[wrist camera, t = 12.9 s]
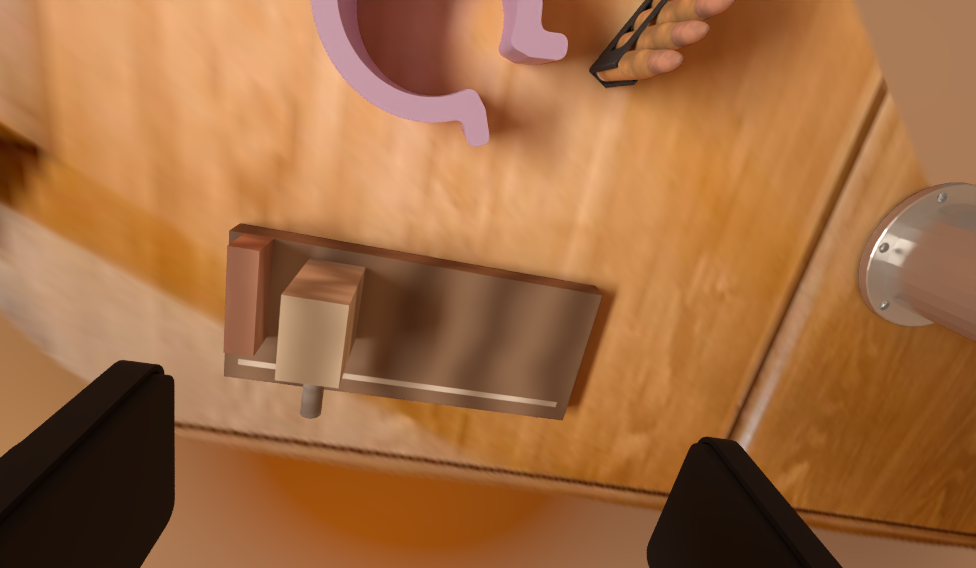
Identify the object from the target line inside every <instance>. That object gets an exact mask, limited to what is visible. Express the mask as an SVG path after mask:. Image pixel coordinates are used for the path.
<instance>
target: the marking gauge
mask: <svg viewBox="0 0 976 568" xmlns="http://www.w3.org/2000/svg"><path fill="white" fill-rule="evenodd" d="M364 274H365V267H360V266H354V265H348V264H343V263H337V262H331V261H325V260H319V259H313V258H309V260H308V261H307V262H306V264H305V265H304V266H303V267H302V269H301V270H300V271H299V273H298V274H297V275H296V276H295V278H294V279H293V280H292V282H291V283H290V284H289V286H288V287H287V288H286V289H285V291H284V292H283V293H282V295H281V305H280V318H279V331H278V344H277V357H276V370H275V380H277V381H285V382H293V383H300V384H303V392H302V402H301V411H300V414H301V415H302V416H303V417H305V418H309V419H312V418H316V417H318V416H319V415H320V414H321V408H322V399H323V391H324V387H331V388H338V389H339V386H340V383H341V380H342V377H343V374H344V371H345V368H346V365H347V362H348V359H349V357H350V354H351V351H352V348H353V345H354V342H355V339H356V333H357V325H358V318H359V311H360V303H361V296H362V289H363V282H364Z"/></svg>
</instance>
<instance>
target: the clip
mask: <svg viewBox="0 0 976 568" xmlns="http://www.w3.org/2000/svg"><path fill="white" fill-rule="evenodd" d="M310 1H311V7H312V12H313V17H314V21H315V25H316V28H317V31H318V34H319V37H320V39H321V42H322V44H323V46H324V48H325V50H326V52H327V54H328V56H329V58H330V60H331V61H332V63H333V64H334V66H335V67H336V69H337V70H338V72H339V73H340V74H341V76H342V77H343V78H344V79H345V80H346V81H347V83H348V84H349V85H350V86H351V87H352V88H353V89H354V90H355V91H356V92H358V93H359V94H360V95H361V96H362V97H363V98H365V99H366V100H367V101H369V102H370V103H372V104H373V105H375V106H377V107H378V108H380V109H382V110H384V111H386V112H388V113H390V114H393V115H395V116H398V117H401V118H404V119H408V120H413V121H419V122H431V123H432V122H447V121H453V120H457V121H460V122H461V126H462V131H463V133H464V135H465V137H466V140H467V142H468V143H469V144H470V145H471V146H474V147H478V146H483V145H485V144H486V143H487V142H488V140H489V129H488V123H487V116H486V110H485V107H484V105H483V103H482V101H481V99H480V97H479V95H478V94H477V92H476V91H474V90H472V89H462V90H459V91H457V92H454V93H450V94H446V95H437V96H430V95H422V94H417V93H414V92H411V91H408V90H406V89H404V88H402V87H400V86H398V85H397V84H395V83H394V82H392V81H391V80H390V79H388V78H387V77H386V76H385V75H384V74H383V73H382V72H381V71H380V70H379V69H378V67H377V66H376V65H375V64H374V62H373V61H372V59H371V58H370V56H369V54H368V52H367V50H366V48H365V46H364V44H363V41H362V38H361V35H360V31H359V26H358V20H357V0H310ZM502 4H503V14H504V21H503V31H502V37H501V41H500V44H499V53H500V54H501V55H502V56H503V57H505V58H507V59H508V60H510V61H512V62H514V63H522V64H531V65H539V64H544V63H548V62H552V61H556V60H560V59H562V58H563V57H564V56H565V55H566V53H567V48H568V40H567V38H566V36H565V35H563V34H561V33H554V32H548V31H546V30H545V29H544V28H543V27H542V24H541V17H542V6H543V0H502Z"/></svg>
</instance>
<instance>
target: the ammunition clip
mask: <svg viewBox="0 0 976 568" xmlns="http://www.w3.org/2000/svg"><path fill="white" fill-rule="evenodd" d="M735 1H736V0H645V1H644V2H643V3H642V5H641V6H640V7H639V8H638V10H637V11H636V12H635V13H634V14H633V16H632V17H631V18H630V19H629V21H628V22H627V23H626V24H625V26H624V27H623V28H622V29H621V30H620V32H619V33H618V34H617V35H616V37H615V38H614V39H613V40H612V42H611V43H610V44H609V45H608V47H607V48H606V49H605V50H604V51H603V53H602V54H601V55H600V56H599V58H598V59H597V60H596V61H595V63H594V64H593V65H592V66H591V68H590V70H589V72H590V73H591V74H592V75H593V76H594V77H595V78H596V79H597V80H598V81H599V82H600V83H602V84H603V85H604V86H605V87H606V88H608V87H616V86H626V85H634V84H635V83H636V82H637V81H638V80H639V79H648V78H651V77H653V76H655V75H659V74H663V73H668V72H671V71H673V70H675V69H676V68H678V67H679V66H680V65H681V64H682V63H683V61H684V57H683V55H682V54H681V53H679V52H677V51H675V50H677V49H678V48H682V47H684V46H687V45H691V44H694V43H696V42H698V41H699V40H701V39H702V38H704V37H705V36H706V35H707V34H708V33H709V31H710V26H709V25H708V24H707V23H705V22H703V20H706V19H708V18H710V17H713V16H716V15H718V14H720V13H722V12H724V11H725V10H727V9H728V8H729V7H731V6H732V5H733V4H734V2H735Z"/></svg>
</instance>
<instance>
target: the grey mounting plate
mask: <svg viewBox="0 0 976 568" xmlns="http://www.w3.org/2000/svg"><path fill="white" fill-rule="evenodd" d="M309 258H313V259H319V260H325V261H331V262H337V263H343V264H348V265H354V266H360V267H365V274H364V282H363V289H362V296H361V303H360V311H359V318H358V325H357V333H356V339H355V342H354V345H353V348H352V351H351V354H350V357H349V359H348V362H347V365H346V368H345V371H344V374H343V377H342V380H341V383H340V386H339V389H338V388H331V387H324V389H326V390H334V391H341V392H349V393H357V394H364V395H372V396H380V397H387V398H395V399H403V400H410V401H418V402H426V403H433V404H441V405H448V406H456V407H464V408H471V409H479V410H487V411H494V412H502V413H510V414H517V415H525V416H533V417H540V418H548V419H556V420H563V418H564V415H565V411H566V408H567V405H568V402H569V399H570V396H571V393H572V389H573V386H574V383H575V380H576V377H577V374H578V371H579V367H580V364H581V361H582V358H583V355H584V352H585V349H586V345H587V342H588V339H589V336H590V333H591V330H592V327H593V323H594V320H595V317H596V314H597V311H598V308H599V305H600V301H601V298H602V294H601V293H600V292H599V291H598V289H597V288H596V287H595V286H591V285H585V284H580V283H574V282H568V281H563V280H557V279H551V278H546V277H540V276H534V275H529V274H523V273H517V272H512V271H506V270H500V269H495V268H489V267H483V266H478V265H472V264H466V263H461V262H455V261H449V260H444V259H438V258H432V257H427V256H421V255H415V254H410V253H404V252H398V251H393V250H387V249H381V248H376V247H370V246H364V245H359V244H353V243H347V242H342V241H336V240H331V239H325V238H319V237H314V236H308V235H302V234H297V233H291V232H285V231H280V230H274V229H268V228H263V227H257V226H251V225H246V224H239V225H237V226H236V227H234V228H233V229H231V230H230V231H229V245H228V246H227V273H226V300H225V328H224V353H225V363H224V376H226V377H234V378H242V379H249V380H257V381H265V382H272V383H280V384H288V385H295V386H303V384H300V383H293V382H285V381H277V380H275V370H276V357H277V344H278V331H279V318H280V305H281V295H282V293H283V292H284V291H285V289H286V288H287V287H288V286H289V284H290V283H291V282H292V280H293V279H294V278H295V276H296V275H297V274H298V273H299V271H300V270H301V269H302V267H303V266H304V265H305V264H306V262H307V261H308V260H309Z"/></svg>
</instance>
